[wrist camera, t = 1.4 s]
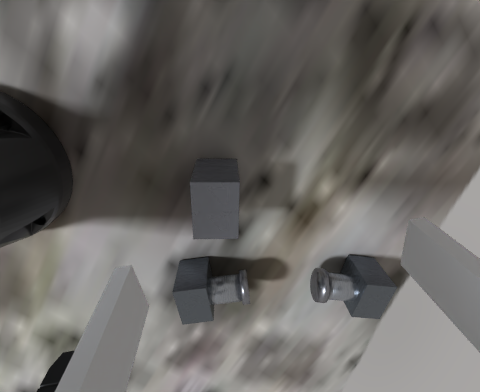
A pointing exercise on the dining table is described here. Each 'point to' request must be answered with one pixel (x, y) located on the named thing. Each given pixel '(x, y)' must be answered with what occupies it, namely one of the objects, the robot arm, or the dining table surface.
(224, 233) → the block
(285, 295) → the dining table surface
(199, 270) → the shaft
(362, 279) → the shaft
